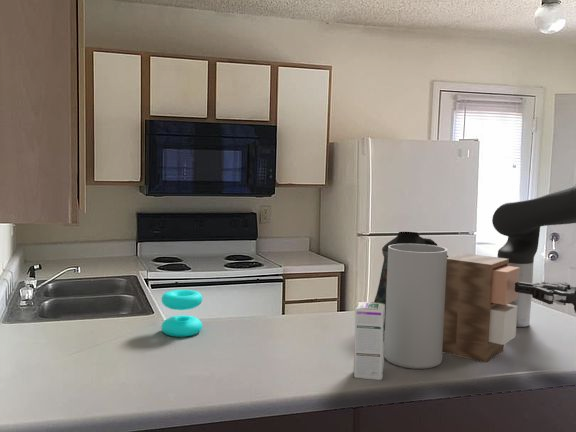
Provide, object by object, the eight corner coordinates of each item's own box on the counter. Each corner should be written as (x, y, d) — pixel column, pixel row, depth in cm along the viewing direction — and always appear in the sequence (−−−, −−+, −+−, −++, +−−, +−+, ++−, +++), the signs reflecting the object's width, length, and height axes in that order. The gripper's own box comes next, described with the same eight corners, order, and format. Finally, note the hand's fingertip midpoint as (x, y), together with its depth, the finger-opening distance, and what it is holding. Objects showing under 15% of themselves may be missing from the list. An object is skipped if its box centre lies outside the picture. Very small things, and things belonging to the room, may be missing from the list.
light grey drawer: (515, 336, 133) (517, 305, 132) (502, 344, 127) (504, 312, 126) (488, 331, 137) (490, 301, 136) (475, 338, 130) (476, 307, 130)
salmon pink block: (517, 298, 132) (519, 267, 131) (505, 305, 126) (507, 272, 125) (490, 294, 136) (492, 263, 135) (477, 300, 130) (479, 268, 129)
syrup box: (382, 380, 116) (385, 309, 115) (352, 377, 117) (355, 307, 116) (383, 370, 122) (386, 302, 120) (355, 368, 123) (357, 300, 121)
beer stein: (358, 319, 160) (361, 229, 158) (417, 313, 168) (421, 227, 165) (391, 337, 145) (395, 237, 143) (454, 329, 152) (459, 235, 150)
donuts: (155, 291, 146) (192, 286, 151) (155, 330, 147) (191, 324, 152) (171, 299, 137) (209, 294, 143) (171, 340, 138) (209, 334, 144)
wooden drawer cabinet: (503, 351, 136) (508, 258, 134) (485, 362, 128) (491, 264, 126) (458, 340, 143) (463, 253, 141) (439, 351, 135) (443, 258, 133)
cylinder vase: (451, 368, 124) (457, 252, 121) (395, 371, 122) (400, 252, 119) (427, 349, 136) (432, 243, 133) (376, 351, 134) (380, 243, 131)
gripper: (612, 277, 122) (526, 265, 133) (596, 287, 111) (506, 273, 123) (609, 312, 122) (524, 298, 133) (593, 325, 112) (503, 308, 123)
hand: (515, 286), depth 128 cm, fingers closed
